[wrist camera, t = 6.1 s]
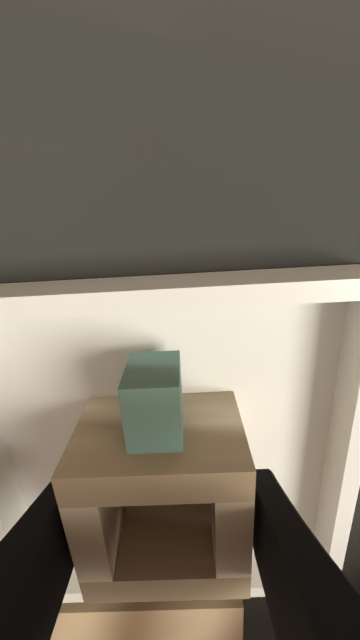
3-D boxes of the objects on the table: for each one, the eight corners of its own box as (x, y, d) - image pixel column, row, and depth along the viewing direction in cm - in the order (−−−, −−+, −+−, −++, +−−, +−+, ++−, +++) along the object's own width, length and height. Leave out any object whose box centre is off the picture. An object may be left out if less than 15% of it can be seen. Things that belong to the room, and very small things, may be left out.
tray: (363, 264, 9) (403, 276, 8) (318, 547, 14) (336, 594, 12) (-54, 286, 10) (-103, 303, 8) (37, 557, 14) (18, 604, 13)
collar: (232, 496, 12) (250, 599, 9) (109, 500, 12) (83, 603, 9) (233, 338, 10) (259, 401, 7) (80, 345, 10) (31, 411, 7)
